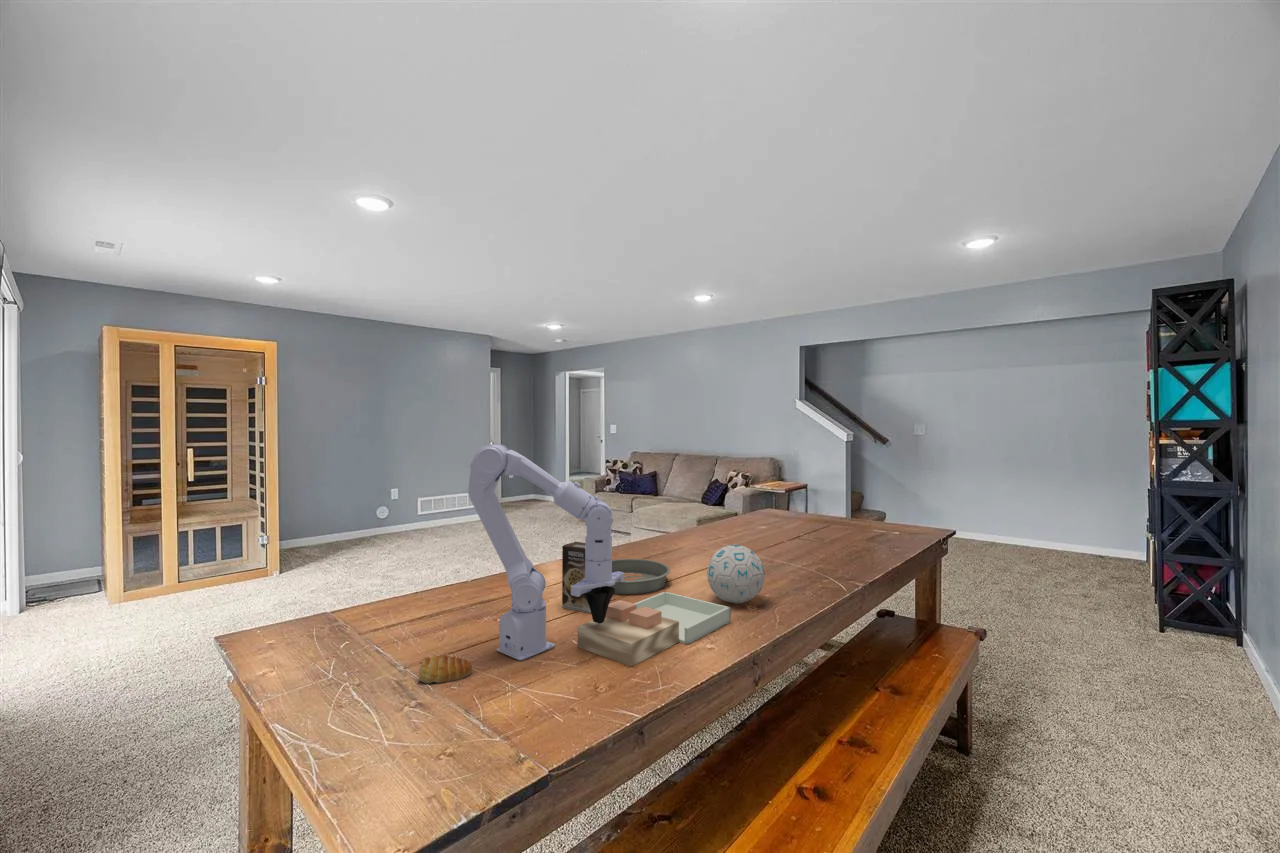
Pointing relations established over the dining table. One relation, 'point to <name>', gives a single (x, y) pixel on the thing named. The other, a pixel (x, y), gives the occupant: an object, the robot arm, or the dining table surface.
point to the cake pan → (648, 569)
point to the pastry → (444, 669)
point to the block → (627, 639)
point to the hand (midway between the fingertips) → (598, 621)
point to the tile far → (620, 610)
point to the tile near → (645, 617)
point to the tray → (689, 614)
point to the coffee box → (573, 576)
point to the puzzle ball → (735, 574)
